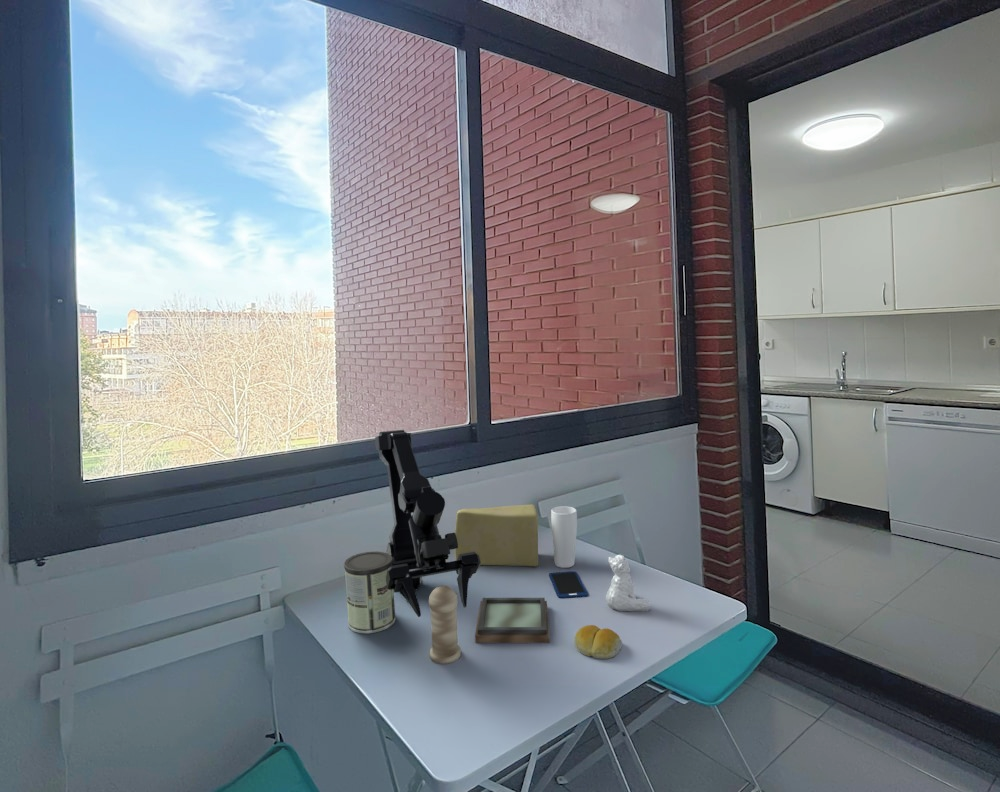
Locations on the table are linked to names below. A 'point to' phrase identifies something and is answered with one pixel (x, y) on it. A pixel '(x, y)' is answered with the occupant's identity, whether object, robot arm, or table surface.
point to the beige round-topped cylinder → (444, 625)
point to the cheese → (499, 535)
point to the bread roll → (597, 642)
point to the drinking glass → (564, 535)
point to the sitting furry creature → (623, 588)
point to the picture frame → (512, 621)
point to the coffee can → (369, 592)
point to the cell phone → (568, 584)
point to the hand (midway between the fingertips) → (442, 611)
